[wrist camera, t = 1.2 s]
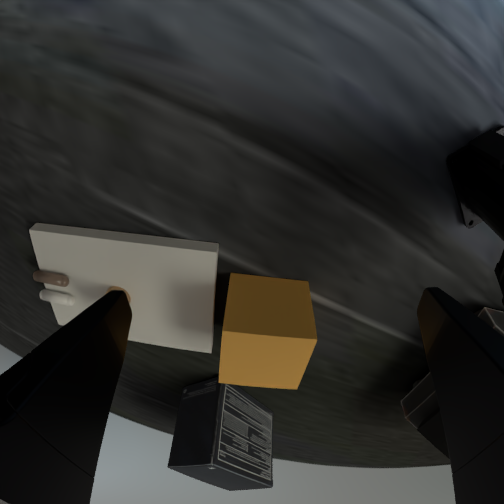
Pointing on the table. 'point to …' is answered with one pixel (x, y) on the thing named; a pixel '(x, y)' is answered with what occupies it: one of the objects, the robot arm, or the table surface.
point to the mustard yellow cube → (266, 332)
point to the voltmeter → (425, 400)
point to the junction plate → (132, 280)
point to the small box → (223, 437)
